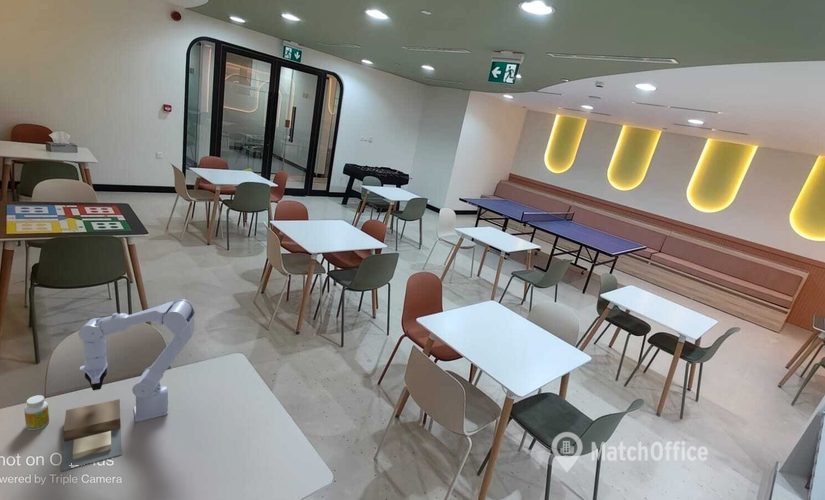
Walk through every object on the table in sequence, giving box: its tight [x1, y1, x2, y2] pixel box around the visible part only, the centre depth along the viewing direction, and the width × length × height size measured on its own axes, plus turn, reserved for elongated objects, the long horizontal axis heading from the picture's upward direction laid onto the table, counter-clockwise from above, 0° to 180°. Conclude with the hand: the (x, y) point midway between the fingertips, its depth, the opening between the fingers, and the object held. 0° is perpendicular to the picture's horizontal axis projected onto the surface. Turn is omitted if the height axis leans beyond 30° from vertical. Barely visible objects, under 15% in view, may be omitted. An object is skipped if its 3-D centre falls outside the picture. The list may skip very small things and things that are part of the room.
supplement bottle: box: [23, 394, 50, 431], centre depth 124 cm, size 5×5×10 cm
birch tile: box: [73, 431, 111, 459], centre depth 121 cm, size 9×6×2 cm, turn 126°
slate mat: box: [60, 428, 122, 473], centre depth 121 cm, size 14×12×1 cm
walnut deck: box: [63, 398, 122, 443], centre depth 129 cm, size 14×10×4 cm
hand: (96, 388), depth 132 cm, fingers closed
